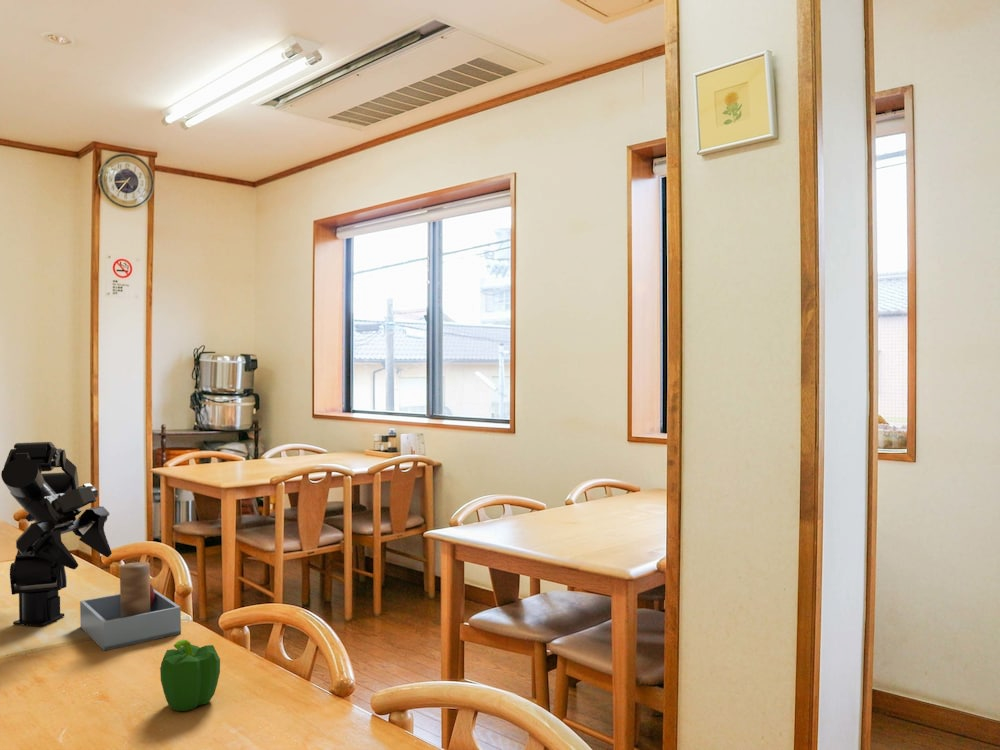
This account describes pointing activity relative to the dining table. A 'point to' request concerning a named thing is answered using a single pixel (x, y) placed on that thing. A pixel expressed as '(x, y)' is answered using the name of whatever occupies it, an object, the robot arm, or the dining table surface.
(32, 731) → the dining table surface
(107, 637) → the tote
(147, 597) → the canister
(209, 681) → the bell pepper
